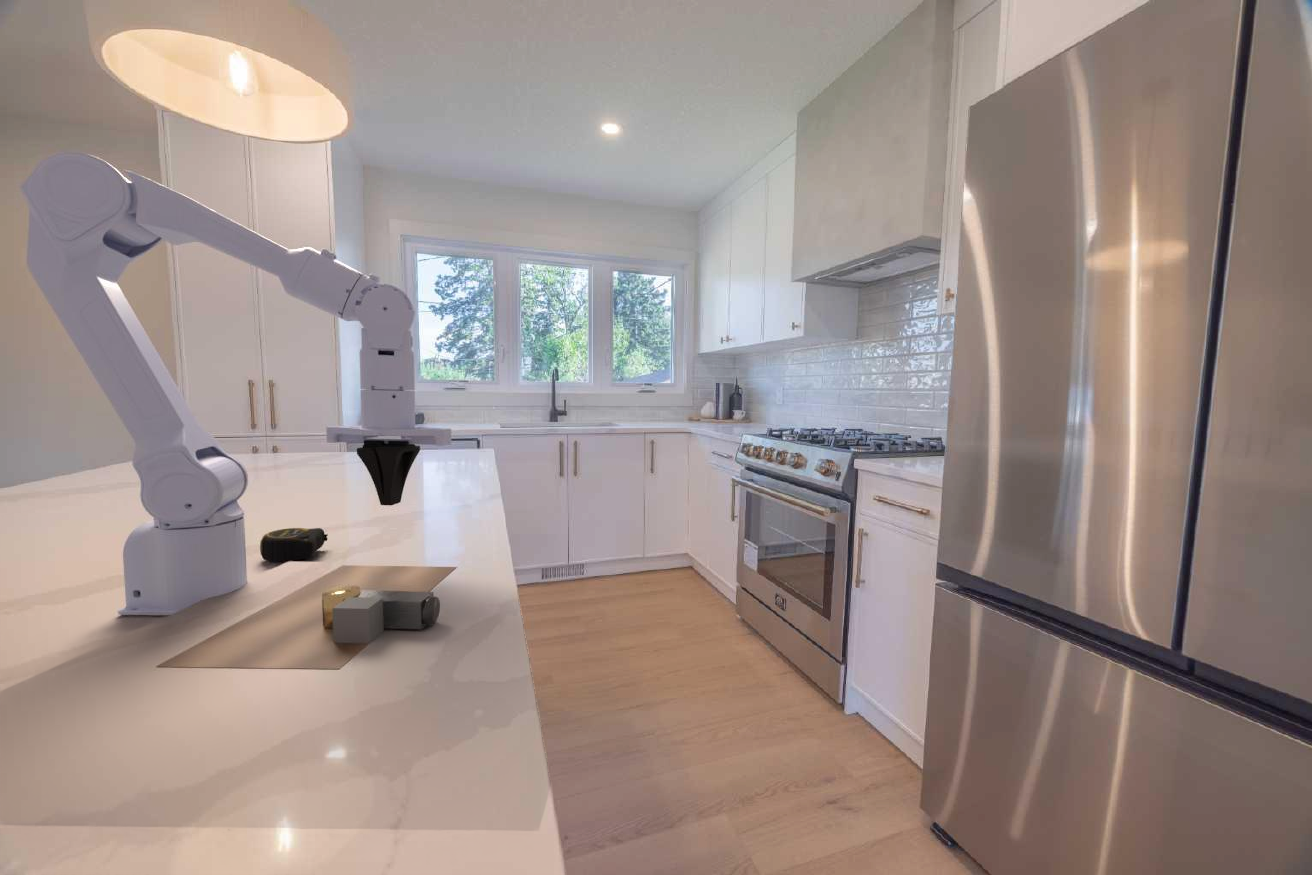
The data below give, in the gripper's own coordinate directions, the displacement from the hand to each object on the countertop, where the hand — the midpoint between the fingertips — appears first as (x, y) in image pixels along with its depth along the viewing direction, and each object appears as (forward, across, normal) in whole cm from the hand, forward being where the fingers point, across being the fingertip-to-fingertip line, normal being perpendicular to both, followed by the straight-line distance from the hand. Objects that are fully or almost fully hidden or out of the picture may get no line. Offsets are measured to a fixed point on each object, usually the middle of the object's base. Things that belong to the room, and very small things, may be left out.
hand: (390, 503), depth 62 cm
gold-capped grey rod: (+8, +8, -15) cm, 19 cm away
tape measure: (+10, -18, +7) cm, 21 cm away
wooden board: (+9, +2, -11) cm, 15 cm away
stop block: (+8, +8, -17) cm, 21 cm away
